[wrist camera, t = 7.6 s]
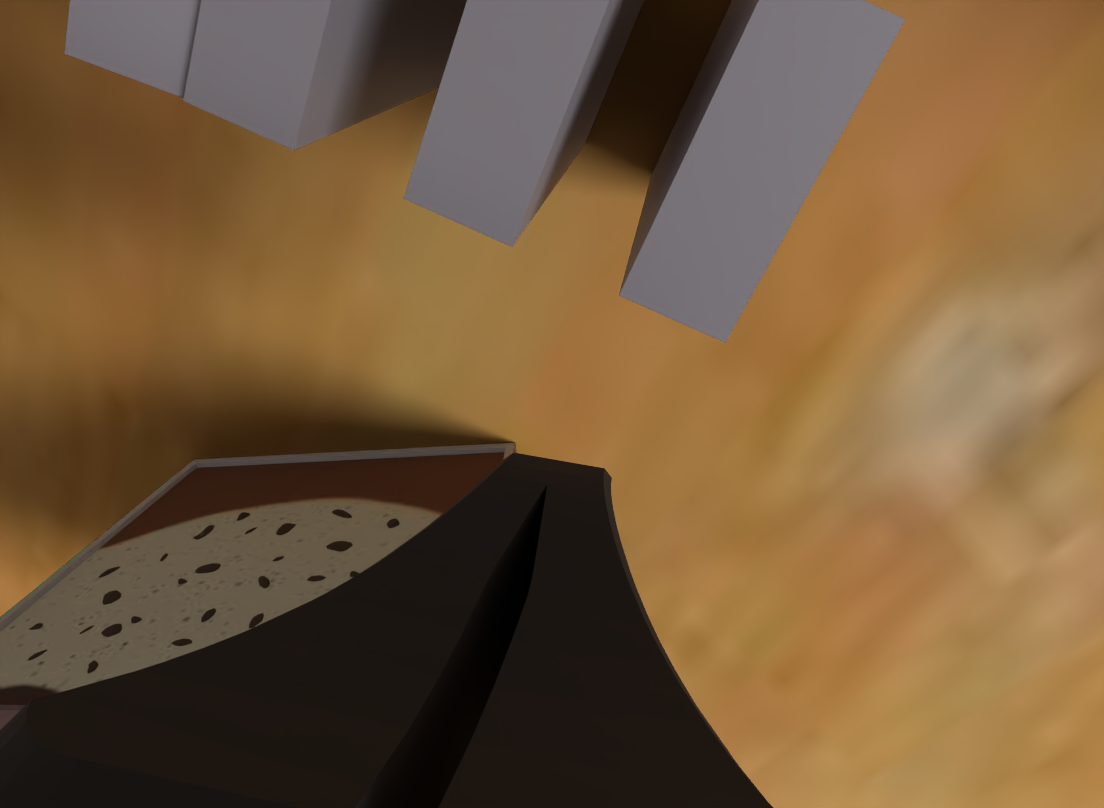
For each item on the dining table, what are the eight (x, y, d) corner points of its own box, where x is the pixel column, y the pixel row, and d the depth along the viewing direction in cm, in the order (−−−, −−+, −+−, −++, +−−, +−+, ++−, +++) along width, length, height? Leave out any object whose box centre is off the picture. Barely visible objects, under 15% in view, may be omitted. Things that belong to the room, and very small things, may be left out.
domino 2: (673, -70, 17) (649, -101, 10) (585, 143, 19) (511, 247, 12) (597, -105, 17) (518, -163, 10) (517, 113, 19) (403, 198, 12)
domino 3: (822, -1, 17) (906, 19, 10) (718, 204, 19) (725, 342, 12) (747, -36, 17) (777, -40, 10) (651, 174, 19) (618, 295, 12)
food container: (212, 631, 27) (-25, 948, 18) (146, 461, 25) (-167, 735, 16) (600, 628, 25) (541, 994, 16) (571, 439, 22) (482, 749, 13)
